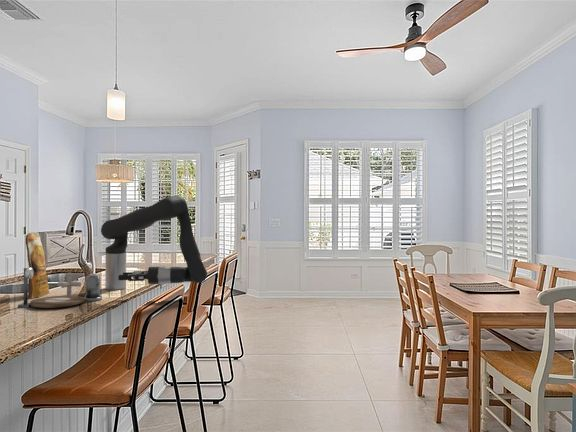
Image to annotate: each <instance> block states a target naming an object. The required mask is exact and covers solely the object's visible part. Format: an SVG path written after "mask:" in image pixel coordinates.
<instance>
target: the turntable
mask: <svg viewBox="0 0 576 432" xmlns="http://www.w3.org/2000/svg"><path fill="white" fill-rule="evenodd" d="M84 302H85V301H84V297H83V296H80V295H71V296H67V295H52V296H45V297H44V296H43V297H38V298H33V299H32V300H30V301H29V303H30V306H31V308H38V309H58V308H65V307H66V308H67V307H72V306H76V305H80V304H82V303H84Z"/></svg>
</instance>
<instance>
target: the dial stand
mask: <svg viewBox="0 0 576 432" xmlns="http://www.w3.org/2000/svg"><path fill="white" fill-rule="evenodd" d="M32 277H33V268H29V267H24V268H23V302H21V303H19V304H17V309H23V308H24V309H25V308H28V309H29V308H32V306H30V302H28V301H29V300H28V299H29V298H28V282H29V279H32Z"/></svg>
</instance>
